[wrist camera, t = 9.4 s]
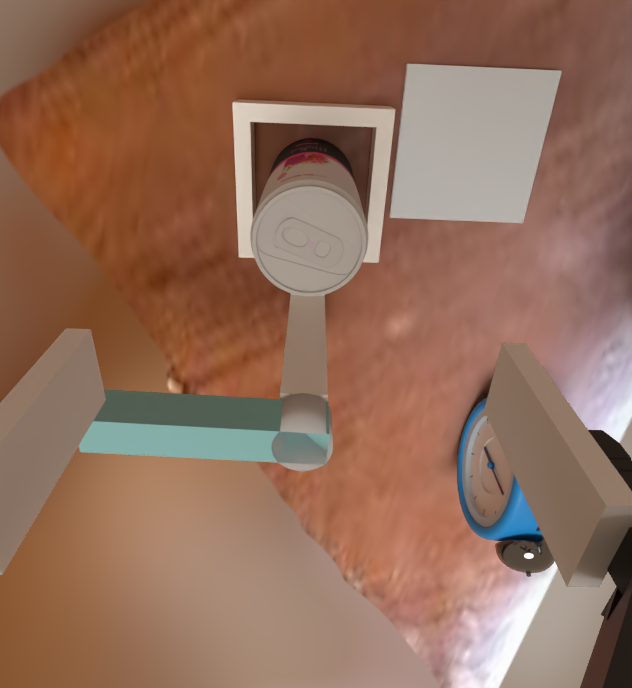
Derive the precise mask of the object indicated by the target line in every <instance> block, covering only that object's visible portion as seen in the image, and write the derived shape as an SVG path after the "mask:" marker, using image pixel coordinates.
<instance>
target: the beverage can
mask: <svg viewBox="0 0 632 688" xmlns="http://www.w3.org/2000/svg"><path fill="white" fill-rule="evenodd" d="M250 241H251V248H252V252H253V255H254V257H255V260H256V262H257V265H258V267H259V268H260V270H261V271H262V273H263V274H264V275H265V277H266V278H267V279H268V280H269V281H270V282H271V283H273V284H274V285H275V286H277V287H278V288H280V289H282V290H284V291H286V292H288V293H291V294H294V295H299V296H320V295H325V294H328V293H331V292H333V291H335V290H337V289H339V288H341V287H342V286H344V285H345V284H346V283H348V282H349V281H350V280H351V279H352V278H353V276H354V275H355V274H356V273H357V271H358V270H359V268H360V266H361V264H362V262H363V260H364V257H365V255H366V251H367V247H368V227H367V223H366V219H365V215H364V212H363V208H362V205H361V202H360V198H359V195H358V191H357V188H356V184H355V181H354V177H353V174H352V170H351V167H350V164H349V162H348V160H347V159H346V157H345V156H344V154H343V153H342V152H341V151H340V150H339V149H338V148H337V147H335V146H334V145H332V144H331V143H329V142H326V141H323V140H320V139H303V140H299V141H297V142H294V143H292V144H290V145H289V146H287V147H286V148H285V149H284V150H283V151H282V152H281V153H280V154H279V155H278V157H277V158H276V160H275V162H274V164H273V167H272V170H271V172H270V175H269V178H268V180H267V183H266V186H265V188H264V191H263V194H262V196H261V199H260V202H259V204H258V207H257V210H256V212H255V215H254V218H253V221H252V225H251V231H250Z"/></svg>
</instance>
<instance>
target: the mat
mask: <svg viewBox="0 0 632 688" xmlns="http://www.w3.org/2000/svg"><path fill="white" fill-rule="evenodd" d="M561 73H562V71H558V70H537V69H515V68H493V67H472V66H450V65H429V64H406V72H405V81H404V90H403V98H402V107H401V115H400V124H399V133H398V141H397V150H396V159H395V167H394V176H393V185H392V193H391V202H390V210H389V217H390V218H409V219H434V220H459V221H484V222H509V223H523V221H524V217H525V213H526V209H527V205H528V201H529V198H530V194H531V190H532V186H533V182H534V178H535V174H536V170H537V166H538V162H539V159H540V155H541V151H542V147H543V143H544V139H545V135H546V131H547V127H548V123H549V119H550V116H551V112H552V108H553V104H554V100H555V96H556V92H557V88H558V84H559V80H560V77H561Z"/></svg>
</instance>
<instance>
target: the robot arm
mask: <svg viewBox="0 0 632 688" xmlns="http://www.w3.org/2000/svg"><path fill="white" fill-rule="evenodd" d="M105 400H106V397H105V393H104V388H103V384H102V380H101V375H100V370H99V365H98V361H97V356H96V352H95V347H94V342H93V338H92V333H91V330H90V329H65V331H64V332H63V333H62V334H61V335H60V336H59V337H58V338H57V340H56V341H55V342H54V343H53V344H52V345H51V346H50V347H49V349H48V350H47V351H46V352H45V353H44V354H43V355H42V357H41V358H40V359H39V360H38V361H37V362H36V363H35V364H34V366H33V367H32V368H31V369H30V370H29V371H28V372H27V374H26V375H25V376H24V377H23V378H22V379H21V380H20V381H19V383H18V384H17V385H16V386H15V387H14V388H13V389H12V391H11V392H10V393H9V394H8V395H7V396H6V397H5V399H4V400H3V401H2V402H1V403H0V575H2V574H3V573H4V571H5V569H6V567H7V566H8V564H9V563H10V561H11V559H12V557H13V555H14V554H15V552H16V551H17V549H18V547H19V545H20V544H21V542H22V541H23V539H24V537H25V536H26V534H27V532H28V530H29V529H30V527H31V525H32V523H33V522H34V520H35V519H36V517H37V515H38V514H39V512H40V510H41V508H42V507H43V505H44V503H45V502H46V500H47V498H48V497H49V495H50V493H51V491H52V490H53V488H54V486H55V485H56V483H57V481H58V480H59V478H60V476H61V475H62V473H63V471H64V470H65V468H66V466H67V464H68V463H69V461H70V459H71V458H72V456H73V454H74V453H75V451H76V449H77V448H78V446H79V444H80V443H81V441H82V439H83V437H84V436H85V434H86V432H87V431H88V429H89V427H90V426H91V424H92V422H93V421H94V419H95V417H96V415H97V414H98V412H99V410H100V409H101V407H102V405H103V404H104V402H105ZM484 412H485V414H486V416H487V418H488V420H489V422H490V424H491V426H492V429H493V431H494V433H495V435H496V437H497V439H498V441H499V443H500V446H501V448H502V450H503V452H504V454H505V456H506V458H507V460H508V463H509V465H510V467H511V469H512V471H513V473H514V475H515V477H516V480H517V482H518V484H519V486H520V488H521V490H522V492H523V494H524V497H525V499H526V501H527V503H528V505H529V507H530V509H531V511H532V514H533V516H534V518H535V520H536V522H537V524H538V526H539V528H540V531H541V533H542V535H543V537H544V539H545V541H546V543H547V545H548V548H549V550H550V552H551V554H552V556H553V558H554V560H555V562H556V564H557V567H558V569H559V571H560V573H561V575H562V577H563V579H564V581H565V583H566V586H567V587H599V586H600V585H601V583H602V581H603V579H604V577H605V575H606V574H607V572H609V574H610V575H611V577H612V579H613V581H614V582H615V584H616V586H617V587H616V589H615V591H614V592H613V594H612V596H611V598H610V599H609V601H608V603H607V605H606V606H605V608H604V610H603V612H602V614H601V615H602V616H604V620H603V623H602V626H601V628H600V631H599V635H598V637H597V640H596V643H595V646H594V649H593V652H592V655H591V658H590V660H589V663H588V666H587V669H586V672H585V675H584V678H583V681H582V684H581V687H580V688H632V461H631V458H630V456H629V455H628V454H627V452H626V451H625V450H624V449H623V447H622V446H621V445H620V443H618V442H617V441H616V440H614V439H613V438H612V437H610V436H609V435H608V434H606V433H605V432H604V431H602V430H587V428H586V427H585V425H584V424H583V423H582V421H581V420H580V418H579V417H578V416H577V414H576V413H575V412H574V410H573V409H572V407H571V406H570V405H569V403H568V402H567V400H566V399H565V398H564V396H563V395H562V393H561V392H560V391H559V389H558V388H557V386H556V385H555V384H554V382H553V381H552V380H551V378H550V377H549V375H548V374H547V373H546V371H545V370H544V368H543V367H542V366H541V364H540V363H539V361H538V360H537V359H536V357H535V356H534V354H533V353H532V352H531V350H530V349H529V348H528V346H527V345H526V344H522V343H502V345H501V349H500V353H499V357H498V360H497V364H496V368H495V371H494V375H493V379H492V383H491V386H490V390H489V394H488V398H487V401H486V405H485V409H484Z"/></svg>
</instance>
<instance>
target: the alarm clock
mask: <svg viewBox="0 0 632 688" xmlns="http://www.w3.org/2000/svg"><path fill="white" fill-rule="evenodd" d="M487 398H488V396H487V394H484V399H483V400H482V401H480V402H479V403H478V404H477V405H476V407H475V408H474V409H473V411H472V412H471V414H470V416H469V418H468V420H467V422H466V425H465V427H464V430H463V433H462V437H461V441H460V446H459V452H458V462H457V484H458V493H459V499H460V504H461V507H462V510H463V513H464V516H465V518H466V520H467V522H468V524H469V526H470V527H471V529H472V530H473V531H474V532H475V533H476V534H477V535H479V536H480V537H482V538H485V539H488V540H495V541H502V542H498V543H496V544H495V547H496V553H497V555H498V557H499V559H500V560H501V561H502V563H504V564H505V565H506V566H507V567H509V568H510V569H512V570H515V571H517V572H521V573H526V574H527V576H528V577H530V576H531V573H539V572H542V571H544V570H546V569H548V568H549V567H550V566H551V565H552V564H553V563H554V561H555V560H554V558H553V556H552V554H551V552H550V550H549V548H548V545H547V543H546V541H545V539H544V537H543V535H542V533H541V531H540V528H539V526H538V524H537V522H536V520H535V518H534V516H533V514H532V511H531V509H530V507H529V505H528V503H527V501H526V499H525V497H524V494H523V492H522V490H521V488H520V486H519V484H518V482H517V480H516V477H515V475H514V473H513V471H512V469H511V467H510V465H509V463H508V460H507V458H506V456H505V454H504V452H503V450H502V448H501V446H500V443H499V441H498V439H497V437H496V435H495V433H494V431H493V429H492V426H491V424H490V422H489V420H488V418H487V416H486V414H485V412H484V409H485V405H486V401H487Z"/></svg>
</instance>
